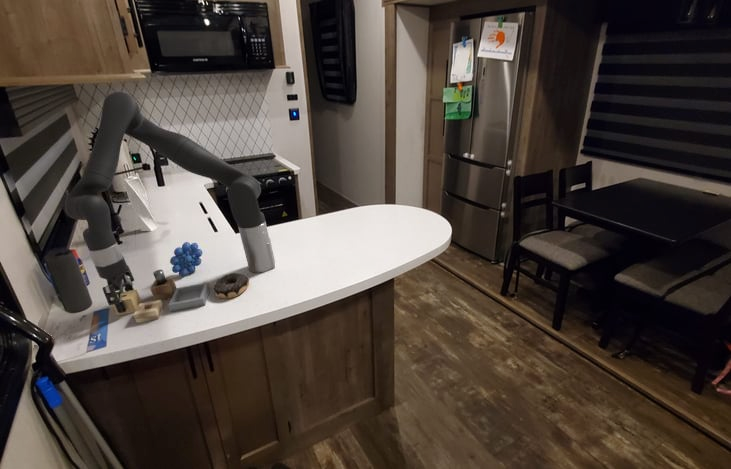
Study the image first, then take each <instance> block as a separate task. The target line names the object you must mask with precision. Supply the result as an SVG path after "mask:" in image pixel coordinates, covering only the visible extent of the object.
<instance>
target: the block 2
mask: <svg viewBox="0 0 731 469" xmlns="http://www.w3.org/2000/svg"><path fill="white" fill-rule="evenodd" d="M165 278H166V281H167V282H166V284H164V285H158V284H157V282H156V279H155V280H154V281H153V283H152V284H151V285H150V286H151V287H150V289H149V290H150V292H151V294H152V296H153V299H154V300H153V301H156V300H161V302H163V301H167V300H171V299H172V297H173V294H174V292H175V290H176V288H177V286H176V282H175V280H174V276H170V277H165Z"/></svg>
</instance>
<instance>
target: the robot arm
mask: <svg viewBox="0 0 731 469" xmlns="http://www.w3.org/2000/svg"><path fill="white" fill-rule="evenodd" d="M124 135H127V136H129V137H131V138H132V139H134V140H136V141H138V142H141V143H143V144H144V145H147V146H148V147H149V148H151V149H152V150H154V151H155V152H156V153H158V154H159V155H161V156H163V157H164V158H166V159H168V160H169V161H170V162H172V163H174V164H175V165H177V166H178V167H180V168H181V169H184V170H185V171H187V172H188V173H191V174H194V175H197V176H201V177H203V178H208V179H211V180H213V181H216V182H217V183H220V184H221V185H223V186H225V187H226V188H227V192H226V193H227V194H226V195H227V200H228V204H229V207H230V210H231V214H232V217H233V219H234V221H235V222H236V225H237V227H238V231H239V234H240V240H241V243H242V246H243V250H244V254H245V259H246V262H247V266H248V270H249V271H250V273H256V274H258V273H259V274H260V273H264V272H267V271H269V270H271V269H275V268H276V265H275V264H276V260H275V255H274V250H273V246H272V243H271V242H272V241H271V238H270V237H269V236H270V235H269V231H268V227H267V222H266V218H265V215H264V213H263V212H262V211H261V210H260V206H259V202H258V198H259V197H260V195H261V194H262V193H261V192H262V188H261V184H260V182H259V181H258V180H257V178H255V177H253V176H252V175H250V174H248V173H246V172H245V171H242V170H241V169H238V168H237V167H234V166H233V165H231V164H229V163H227V162H226V161H224V160H223V159H222V158H220V157H219V156H217V155H215V154H214V153H212V152H210V151H209V150H208V149H206V148H205V147H203V146H202V145H201V144H199V143H197V142H196V141H194V140H192V139H191V138H189V137H187V136H186V135H184V134H181V133H178V132H175V131H172V130H171V131H170V130H168V129H164V128H162V127H160V126H158V125H157V124H155V123H154V122H152V121H151V120H149V119H148V118H146V117H145V115H143V114H142V113H141V110H140V106H139V104H138V102H137V100H136V99H135V98H134V97H133V96H132V95H131V94H128V93H127V92H124V91H113V92H111V93H109V94H107V95H106V97H105V99H104V101H103V104H102V110H101V116H100V122H99V125H98V131H97V135H96V138H95V140H94V144H93V146H92V150H91V152H90V155H89V157H88V160H87V163H86V165H85V167H84V169H83V173H82V176H81V178H80V179H79V180H78V182H77V183H76V184H75V185H74V186H73V188H72V189H71V191H70V192H69V194H68V195H67V196H66V198H65V201H64V211H65V214H66V215H67V216H68V217H69V218H71V219H72V220H73V219H74V220H76V221H77V220H78V221H86V222H87V228H85V229H84V230H83V231H82V237H83V240H84V243H85V244H86V247H87V249H88V251H89V256H90V258H91V261H92V262H93V265H94V267H95V269H96V272H97V274H98V276H99V278H100V279H104V280H106V282H107V286H103V287H102V291H103V294H104V296H105V299H106V302H107V303H108V306H113V304H115V307H116V309H117V311H118V313H123V312H126V310H127V309H126V307H125V305H124V302H123V301H122V294H123V293H124V292H125V291H131V290H135V288H134V287H133V285H134V283H133V282H134V281H135V278H134V275H133V274H132V272H131V269H130V267H129V265H127V264H128V263H126V262H127V261H126V260H125V257H124V254H123V252H122V249H121V247H120V245H119V244H118V242H117V240H116V238H115V235H114V233H113V231H112V220H111V211H110V207H109V205H108V203H107V202H106V200H105V199H104V198H103V197H101V196H99V194H101V193H103V192H106V191H108V190H109V189H110V188H111V186H112V183H113V180H114V178H115V174H116V172H117V169H118V165H119V161H120V155H121V147H122V142H123V140H124ZM117 295H118V297H117Z"/></svg>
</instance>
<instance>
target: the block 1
mask: <svg viewBox="0 0 731 469" xmlns="http://www.w3.org/2000/svg"><path fill="white" fill-rule="evenodd" d="M117 297H118V295H117ZM122 301H123V302H124V305H125V307H126V309H127V310H126V312H123V313H118V311H117V309H116V307H115V304H113V305H112V306H113V309H114V311H115V314H116V316H121V315H126V314H131V313H132V314H134V313H135V311H136V310H137V308H138V306H139V304H141V303H143V301H142V299H141V296H140V294H139V292H138V289H134V290H131V291H125V290H124V293H123V294H122Z"/></svg>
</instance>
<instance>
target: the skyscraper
mask: <svg viewBox="0 0 731 469" xmlns="http://www.w3.org/2000/svg"><path fill="white" fill-rule="evenodd" d="M123 183H124V187H125V191H126V194H127V197H128V199H129V202H130V204H131V207H132V208H133V209H134V211H135V213H136V214H137V216H138V222H139V226H140V231H148V232H153V231H155V230H156V229H158V228H159V225H158V223H157V222H156V220H155V218H154V217H153V215H152V213H151V211H150V201H149V197H148V194H147V191H146V188H145V186H144V185H143V182H142V180H141V178H140V176H139V173H138V172H135V175H131V176H127V178H123Z"/></svg>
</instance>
